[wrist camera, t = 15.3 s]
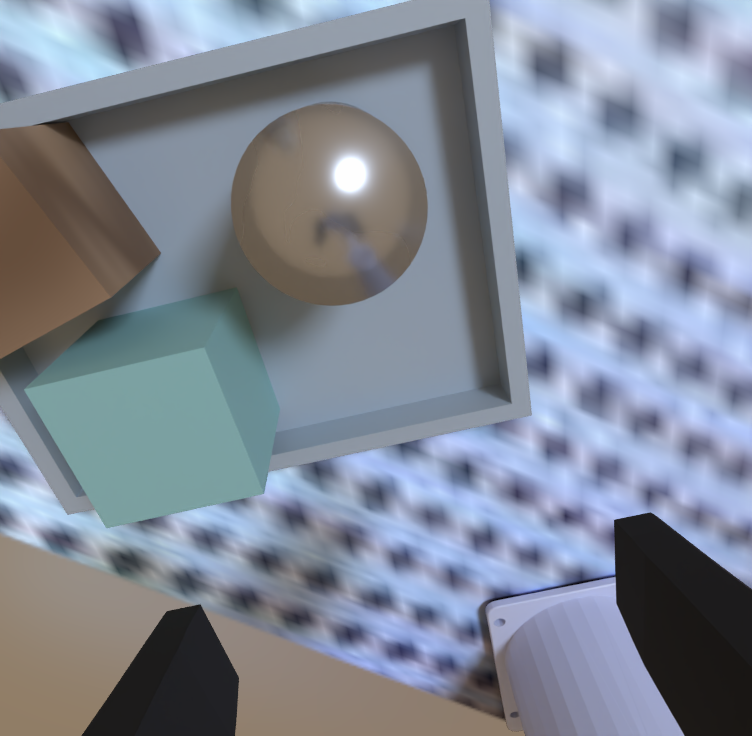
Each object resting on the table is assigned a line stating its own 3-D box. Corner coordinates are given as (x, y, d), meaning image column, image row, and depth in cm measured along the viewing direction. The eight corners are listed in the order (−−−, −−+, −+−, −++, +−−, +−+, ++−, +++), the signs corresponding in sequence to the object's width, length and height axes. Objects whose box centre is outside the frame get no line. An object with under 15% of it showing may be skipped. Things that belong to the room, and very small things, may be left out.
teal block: (280, 408, 19) (263, 493, 15) (155, 437, 19) (106, 528, 15) (236, 287, 17) (204, 347, 13) (97, 320, 17) (23, 389, 13)
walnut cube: (161, 253, 16) (111, 297, 13) (54, 312, 17) (-23, 371, 13) (68, 122, 15) (-20, 131, 11) (-47, 194, 15) (-166, 224, 12)
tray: (514, 386, 20) (532, 415, 18) (91, 477, 20) (67, 514, 19) (469, -5, 14) (487, -19, 13) (-103, 138, 15) (-162, 144, 13)
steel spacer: (420, 221, 16) (450, 270, 12) (295, 267, 17) (279, 330, 12) (376, 78, 15) (392, 71, 10) (237, 132, 15) (195, 149, 11)
